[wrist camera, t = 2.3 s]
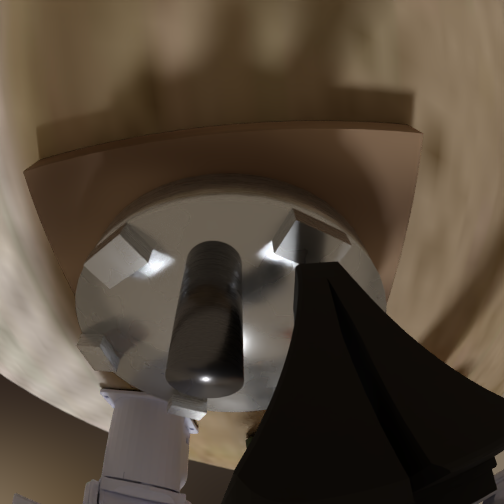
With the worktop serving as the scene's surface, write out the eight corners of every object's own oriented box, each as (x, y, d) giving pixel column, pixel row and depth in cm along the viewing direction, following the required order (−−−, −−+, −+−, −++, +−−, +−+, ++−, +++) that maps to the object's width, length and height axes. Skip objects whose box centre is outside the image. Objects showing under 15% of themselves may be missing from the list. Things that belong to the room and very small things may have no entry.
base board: (356, 360, 23) (361, 377, 21) (135, 372, 23) (131, 389, 21) (407, 124, 12) (425, 134, 11) (39, 160, 12) (21, 173, 11)
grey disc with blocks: (346, 371, 20) (367, 461, 14) (141, 382, 20) (127, 470, 15) (393, 166, 12) (500, 279, 6) (51, 197, 12) (-41, 309, 6)
